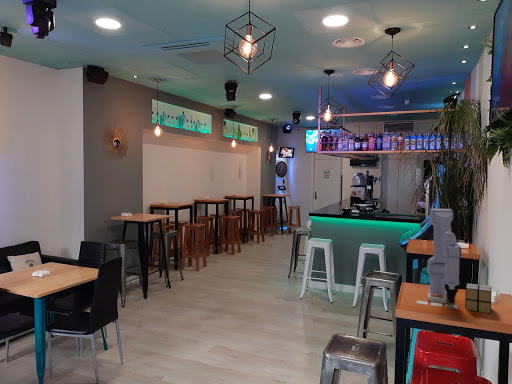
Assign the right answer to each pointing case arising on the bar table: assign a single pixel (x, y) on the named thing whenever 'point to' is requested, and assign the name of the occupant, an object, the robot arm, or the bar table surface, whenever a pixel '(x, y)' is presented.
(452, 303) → the pawn
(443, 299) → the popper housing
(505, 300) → the bar table surface
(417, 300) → the board
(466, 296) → the puzzle cube
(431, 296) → the button
